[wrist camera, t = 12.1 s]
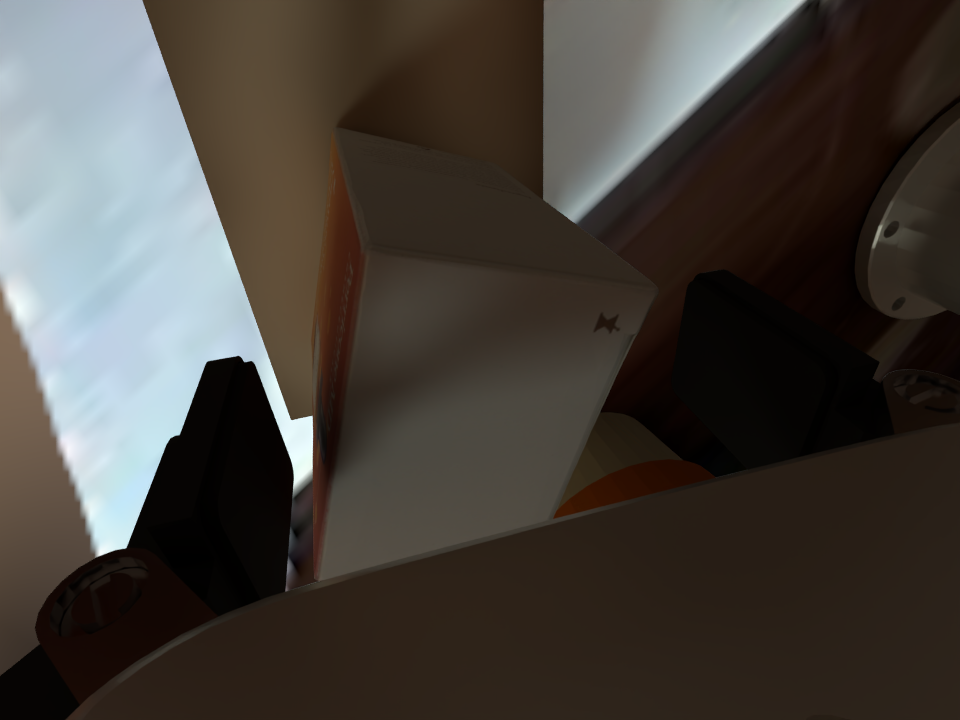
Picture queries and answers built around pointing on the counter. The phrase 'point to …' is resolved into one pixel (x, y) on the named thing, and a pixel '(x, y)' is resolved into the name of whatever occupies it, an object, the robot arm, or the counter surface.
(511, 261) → the small box
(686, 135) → the counter surface
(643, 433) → the reusable coffee cup
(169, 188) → the counter surface
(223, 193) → the shelf board
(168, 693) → the robot arm
